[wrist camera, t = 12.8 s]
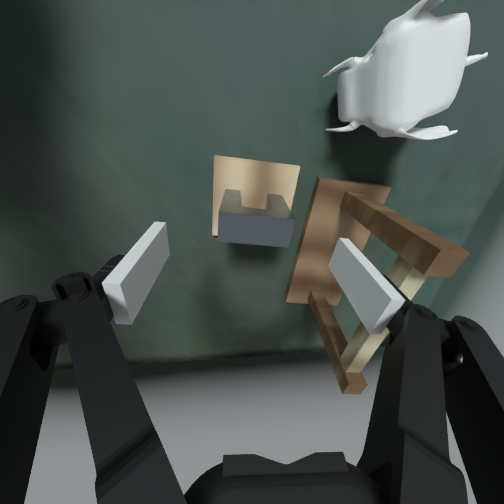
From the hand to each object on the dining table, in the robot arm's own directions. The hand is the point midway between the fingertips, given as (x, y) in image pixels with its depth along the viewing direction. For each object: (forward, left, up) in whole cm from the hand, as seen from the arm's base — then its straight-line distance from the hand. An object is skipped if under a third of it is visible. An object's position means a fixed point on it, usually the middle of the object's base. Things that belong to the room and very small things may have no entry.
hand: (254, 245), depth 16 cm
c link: (0, 0, -12) cm, 12 cm away
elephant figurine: (+11, +13, -13) cm, 21 cm away
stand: (+12, -6, -12) cm, 19 cm away
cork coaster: (0, 0, -12) cm, 12 cm away
